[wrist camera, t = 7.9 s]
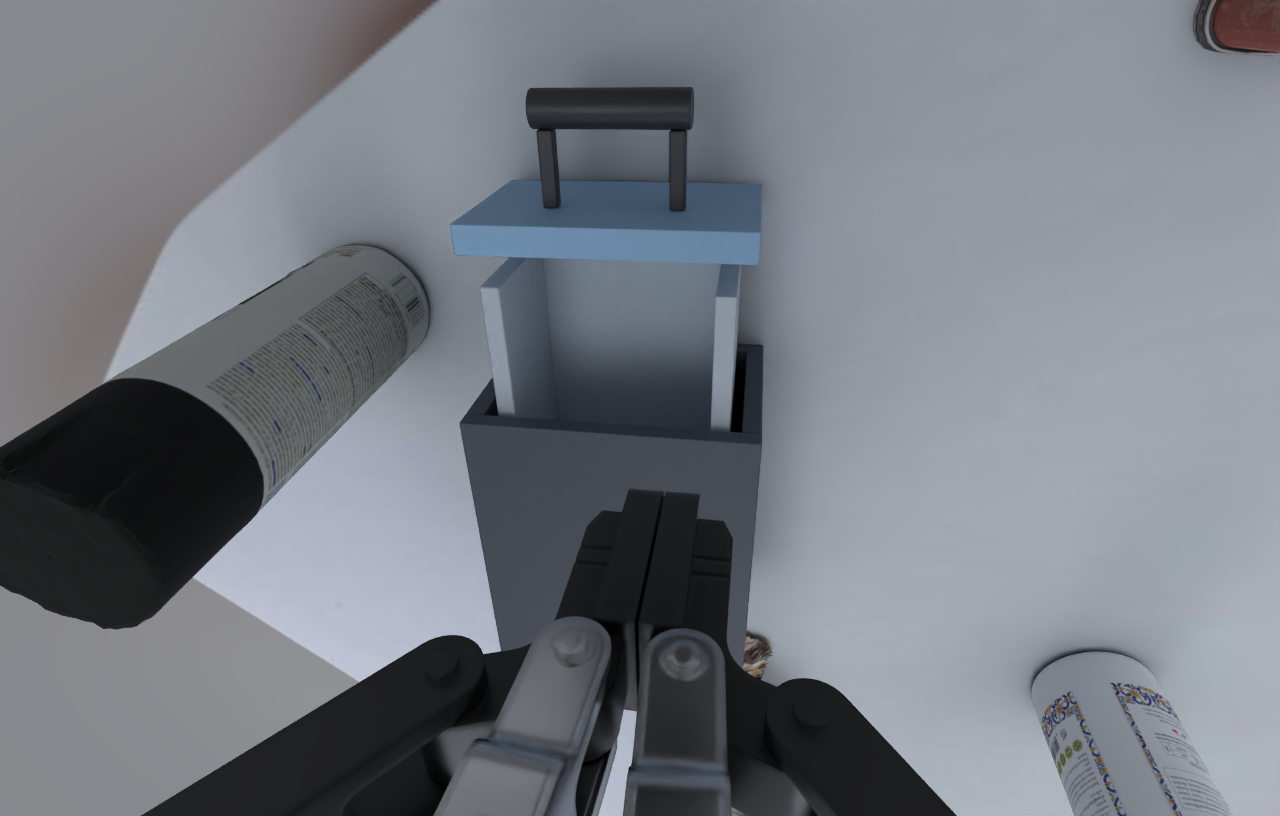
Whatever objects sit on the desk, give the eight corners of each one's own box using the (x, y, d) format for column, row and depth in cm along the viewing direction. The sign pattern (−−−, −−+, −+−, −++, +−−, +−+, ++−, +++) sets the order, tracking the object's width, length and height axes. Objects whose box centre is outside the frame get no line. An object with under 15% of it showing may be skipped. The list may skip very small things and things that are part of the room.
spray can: (326, 218, 35) (-87, 426, 18) (449, 275, 36) (160, 529, 19) (308, 324, 39) (-52, 583, 22) (420, 375, 39) (155, 666, 22)
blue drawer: (499, 76, 29) (428, 97, 23) (770, 74, 28) (770, 96, 22) (539, 427, 38) (495, 509, 32) (744, 441, 37) (740, 531, 31)
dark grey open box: (524, 333, 37) (458, 423, 29) (763, 345, 35) (761, 444, 27) (548, 541, 44) (501, 656, 36) (746, 560, 42) (741, 685, 35)
